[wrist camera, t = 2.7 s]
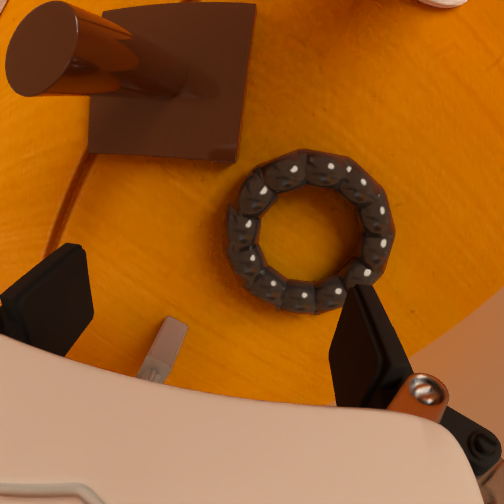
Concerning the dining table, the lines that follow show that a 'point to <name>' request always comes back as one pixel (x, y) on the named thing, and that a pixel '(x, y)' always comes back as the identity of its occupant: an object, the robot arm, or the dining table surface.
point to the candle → (444, 3)
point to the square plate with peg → (143, 73)
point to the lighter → (163, 351)
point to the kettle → (2, 5)
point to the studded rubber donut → (290, 180)
